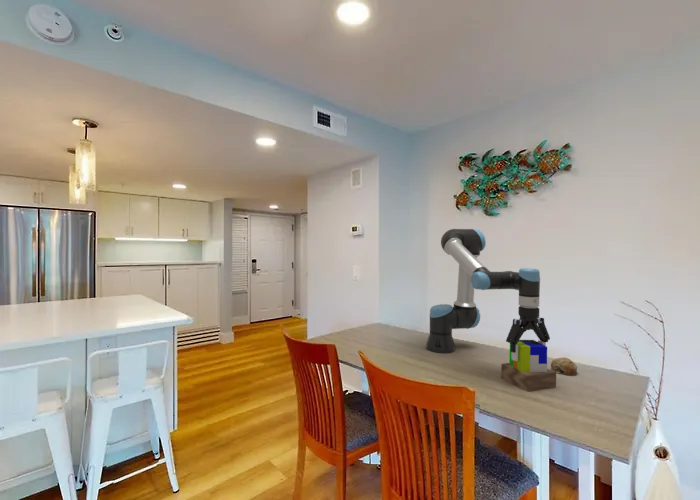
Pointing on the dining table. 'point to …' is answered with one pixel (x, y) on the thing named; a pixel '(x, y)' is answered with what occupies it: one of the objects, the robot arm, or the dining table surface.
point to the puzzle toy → (530, 356)
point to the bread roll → (564, 366)
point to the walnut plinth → (528, 378)
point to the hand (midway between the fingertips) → (528, 358)
